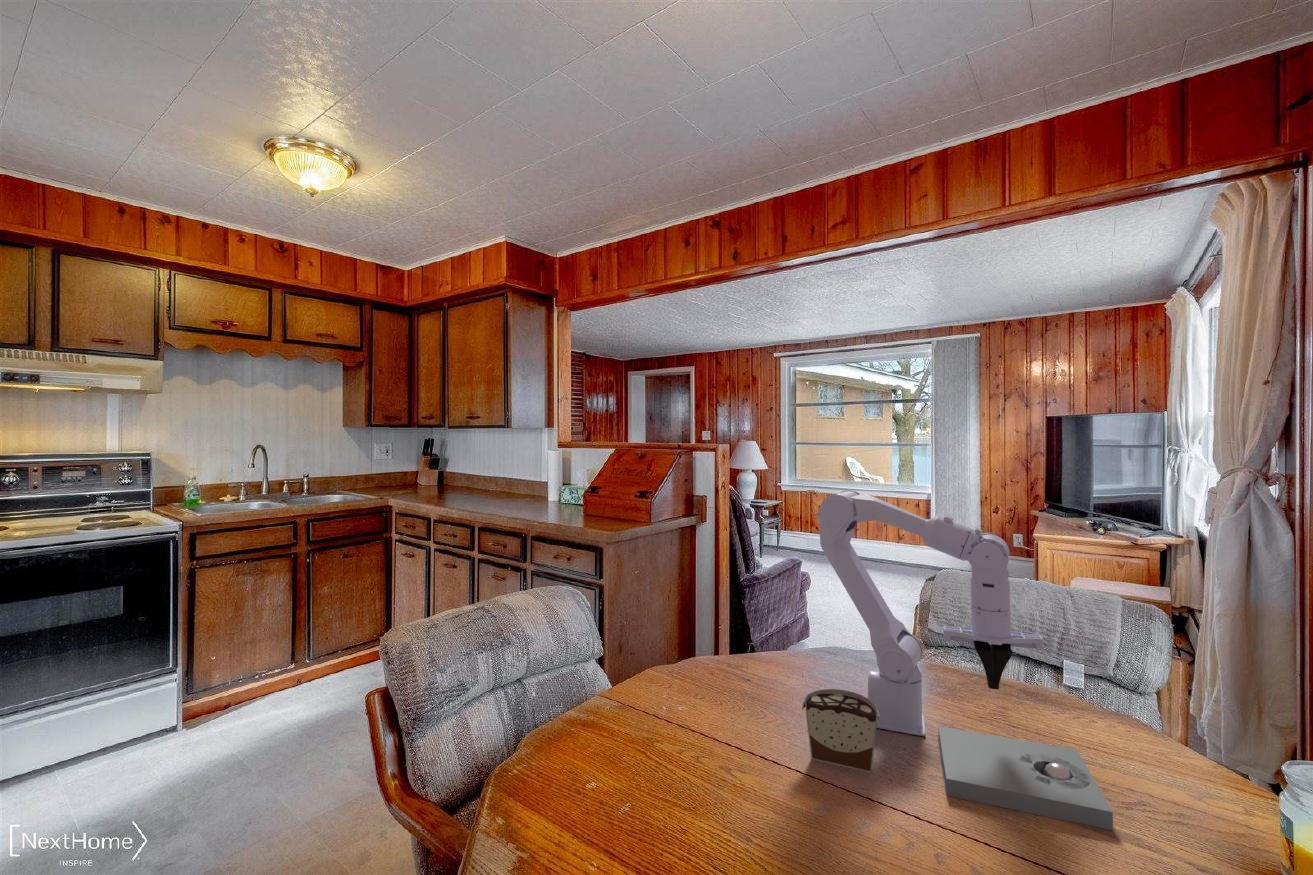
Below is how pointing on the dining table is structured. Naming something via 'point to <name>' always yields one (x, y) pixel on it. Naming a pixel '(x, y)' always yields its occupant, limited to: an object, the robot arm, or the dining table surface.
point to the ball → (1057, 772)
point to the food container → (841, 728)
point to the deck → (1020, 777)
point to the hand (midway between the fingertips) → (992, 686)
